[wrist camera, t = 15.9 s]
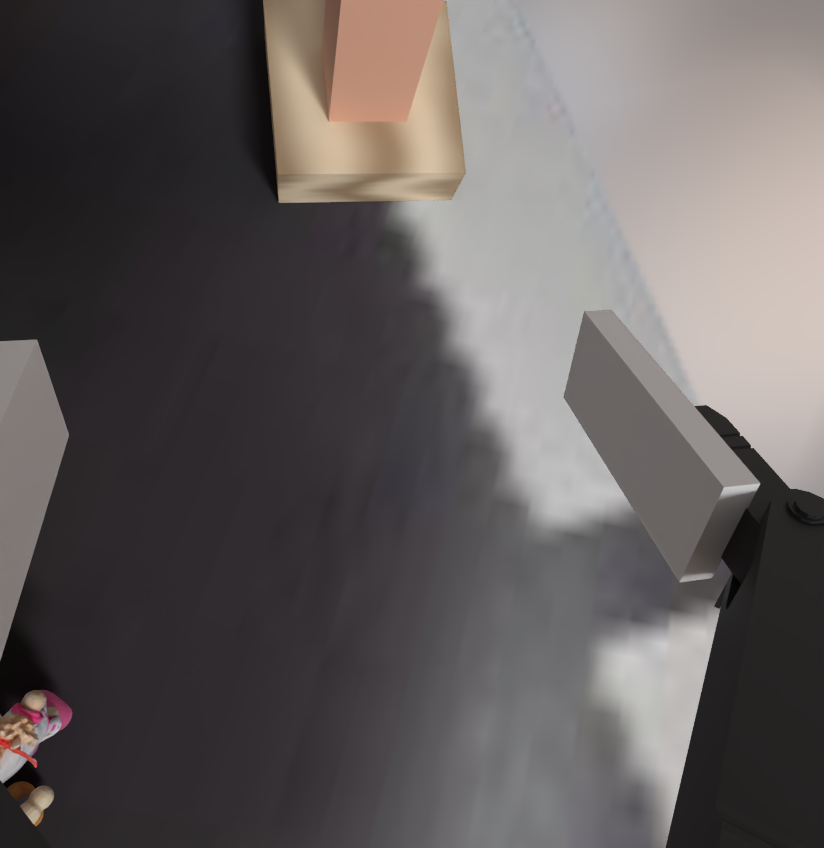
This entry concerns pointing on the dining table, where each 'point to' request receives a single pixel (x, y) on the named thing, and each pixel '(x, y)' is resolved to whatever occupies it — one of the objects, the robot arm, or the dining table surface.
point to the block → (375, 56)
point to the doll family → (30, 745)
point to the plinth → (357, 141)
